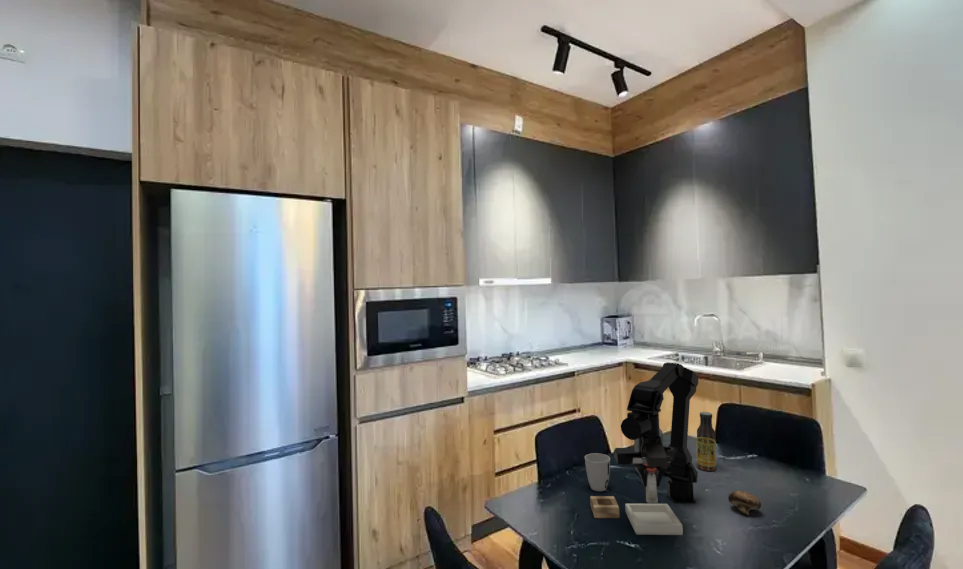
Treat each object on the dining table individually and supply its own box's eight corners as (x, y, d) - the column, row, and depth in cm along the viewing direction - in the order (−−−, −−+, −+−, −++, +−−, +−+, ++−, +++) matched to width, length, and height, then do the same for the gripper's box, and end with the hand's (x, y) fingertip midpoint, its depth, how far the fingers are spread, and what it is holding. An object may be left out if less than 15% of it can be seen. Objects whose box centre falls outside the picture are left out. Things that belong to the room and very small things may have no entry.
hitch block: (614, 506, 133) (613, 496, 133) (619, 518, 126) (619, 507, 126) (590, 506, 134) (590, 496, 134) (594, 517, 127) (594, 507, 127)
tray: (667, 512, 128) (667, 503, 128) (682, 535, 116) (682, 525, 116) (625, 512, 129) (625, 503, 129) (636, 534, 117) (635, 525, 117)
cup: (612, 494, 141) (611, 462, 141) (586, 492, 143) (585, 461, 143) (610, 483, 149) (608, 453, 149) (585, 482, 150) (584, 452, 151)
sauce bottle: (695, 470, 157) (693, 414, 158) (697, 463, 162) (695, 409, 163) (716, 473, 154) (713, 416, 154) (717, 467, 159) (715, 411, 159)
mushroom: (747, 510, 121) (746, 487, 125) (722, 510, 128) (721, 488, 131) (768, 520, 123) (766, 496, 126) (742, 519, 130) (741, 497, 133)
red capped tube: (657, 497, 125) (655, 462, 125) (661, 504, 121) (659, 467, 121) (642, 497, 125) (641, 462, 125) (646, 504, 121) (645, 467, 121)
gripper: (621, 440, 116) (623, 500, 116) (694, 439, 115) (697, 500, 114) (612, 427, 127) (614, 481, 127) (679, 426, 126) (681, 481, 125)
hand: (651, 486), depth 123 cm, fingers closed on red capped tube, 3 cm apart
